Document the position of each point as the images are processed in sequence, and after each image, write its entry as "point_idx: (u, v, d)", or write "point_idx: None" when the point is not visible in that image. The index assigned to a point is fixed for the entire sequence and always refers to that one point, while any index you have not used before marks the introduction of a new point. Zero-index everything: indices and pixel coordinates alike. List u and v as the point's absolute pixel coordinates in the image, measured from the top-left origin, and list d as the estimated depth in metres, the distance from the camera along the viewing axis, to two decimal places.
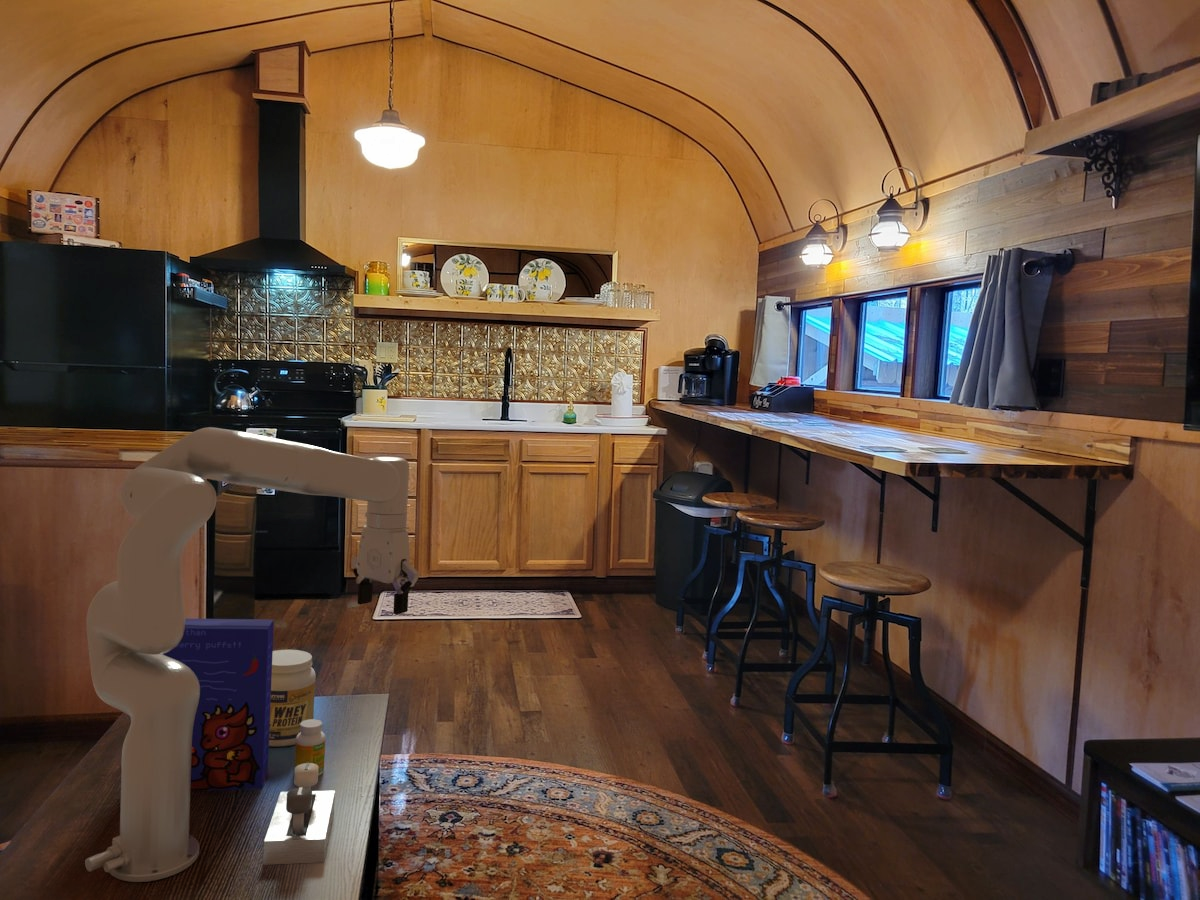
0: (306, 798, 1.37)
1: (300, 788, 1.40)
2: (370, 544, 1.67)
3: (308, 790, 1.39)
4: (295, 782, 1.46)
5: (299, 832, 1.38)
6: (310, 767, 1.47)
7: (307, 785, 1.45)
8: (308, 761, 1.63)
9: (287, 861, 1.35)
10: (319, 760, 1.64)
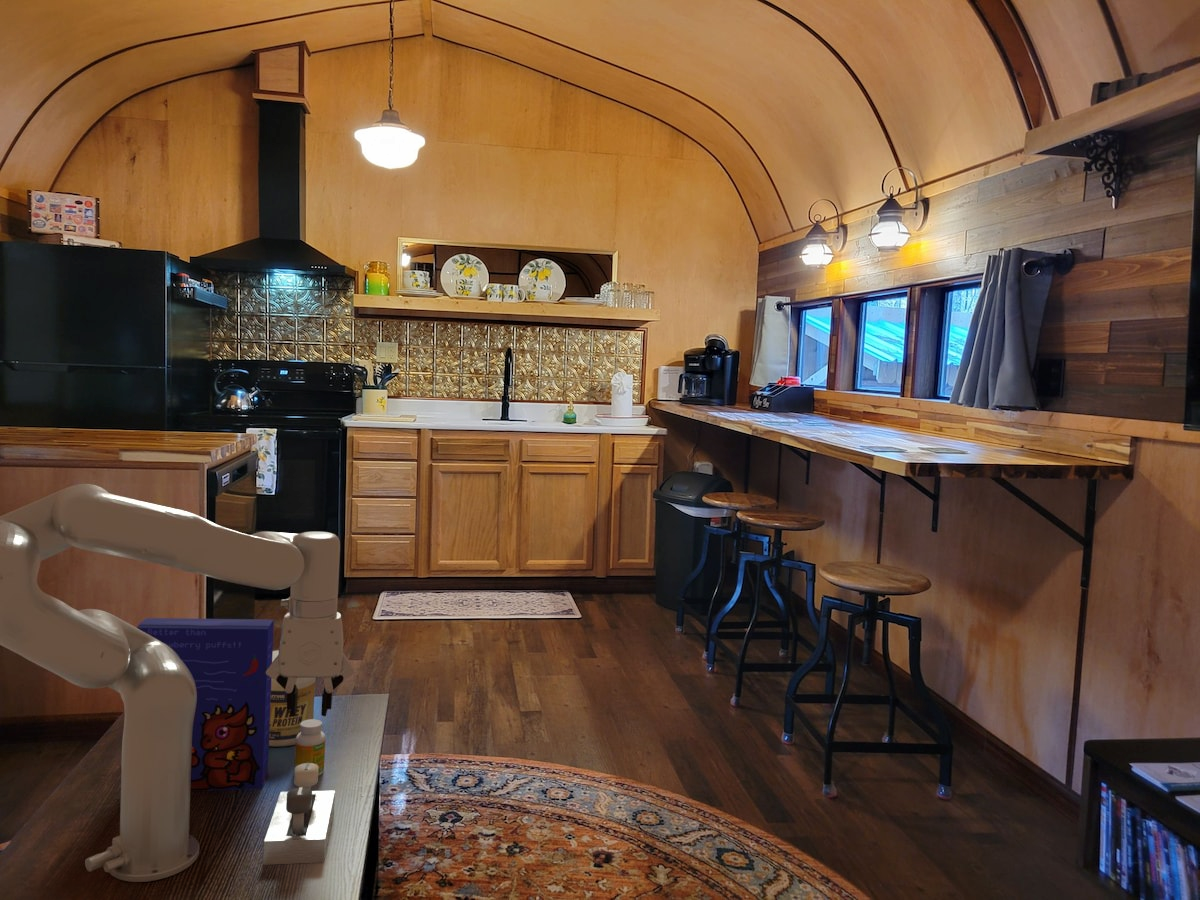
0: (306, 798, 1.37)
1: (300, 788, 1.40)
2: (302, 637, 1.42)
3: (308, 790, 1.39)
4: (295, 782, 1.46)
5: (299, 832, 1.38)
6: (310, 767, 1.47)
7: (307, 785, 1.45)
8: (308, 761, 1.63)
9: (287, 861, 1.35)
10: (319, 760, 1.64)
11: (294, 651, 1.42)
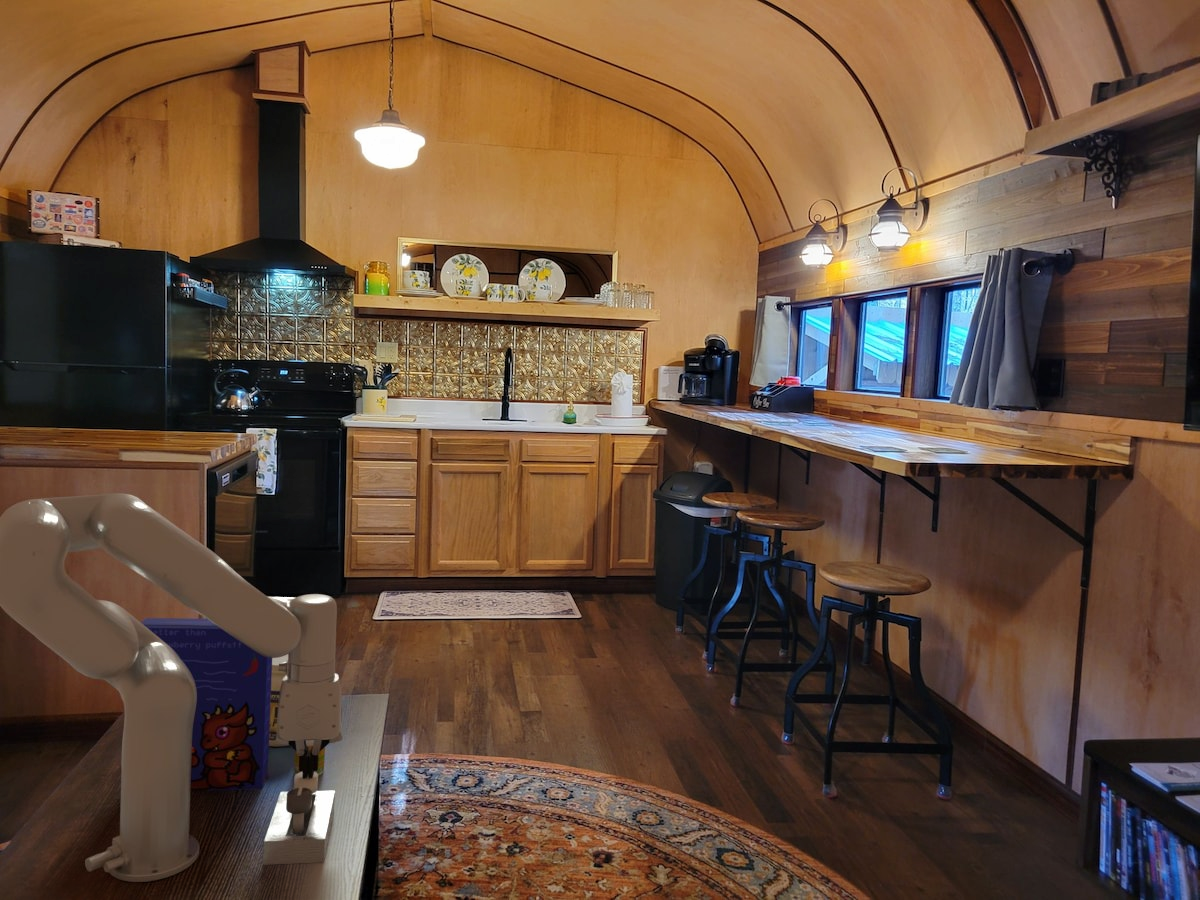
0: (306, 798, 1.37)
1: (300, 788, 1.40)
2: (300, 701, 1.43)
3: (308, 790, 1.39)
4: None
5: (299, 832, 1.38)
6: None
7: None
8: None
9: (287, 861, 1.35)
10: (319, 760, 1.64)
11: (292, 715, 1.43)
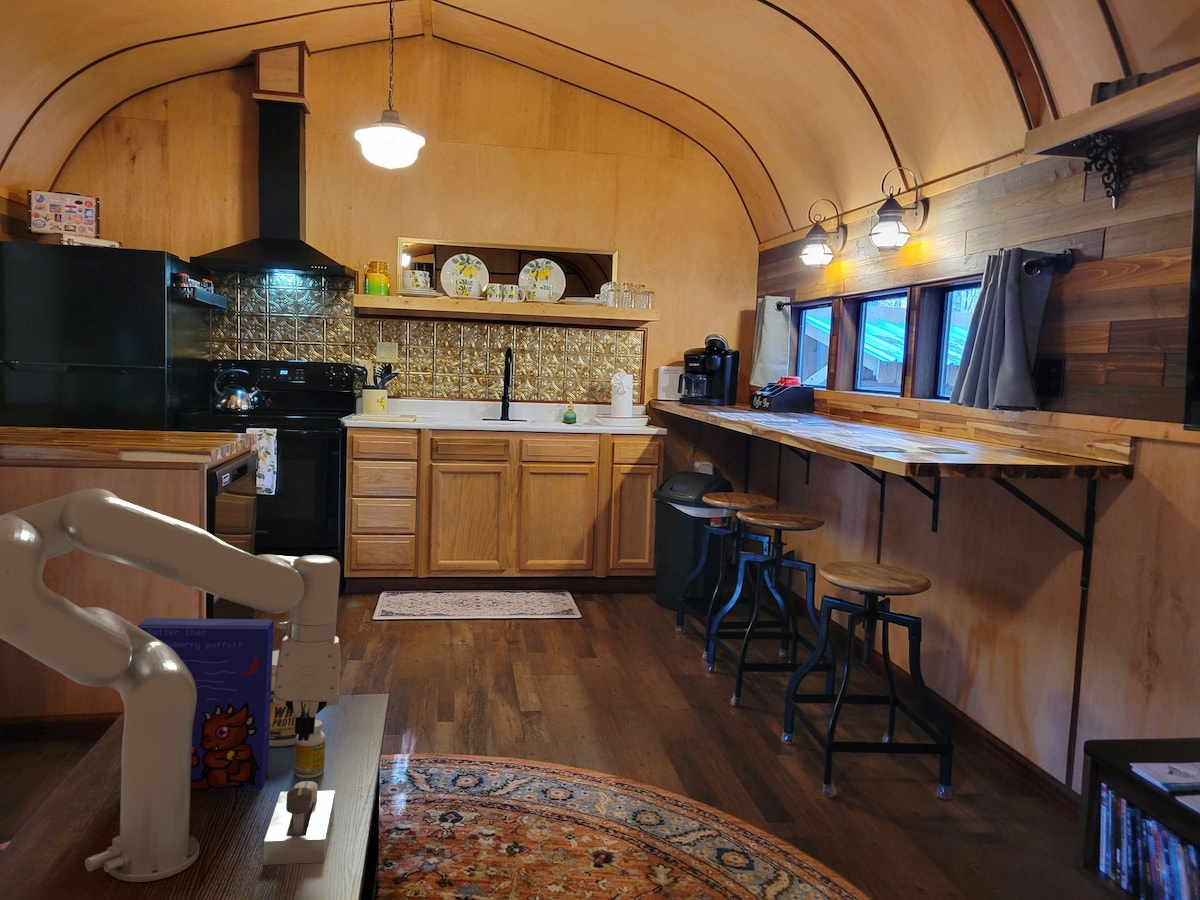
0: (306, 798, 1.37)
1: (300, 788, 1.40)
2: (300, 661, 1.42)
3: (308, 790, 1.39)
4: None
5: (299, 832, 1.38)
6: (309, 785, 1.48)
7: None
8: (308, 761, 1.63)
9: (287, 861, 1.35)
10: (319, 760, 1.64)
11: (291, 675, 1.42)
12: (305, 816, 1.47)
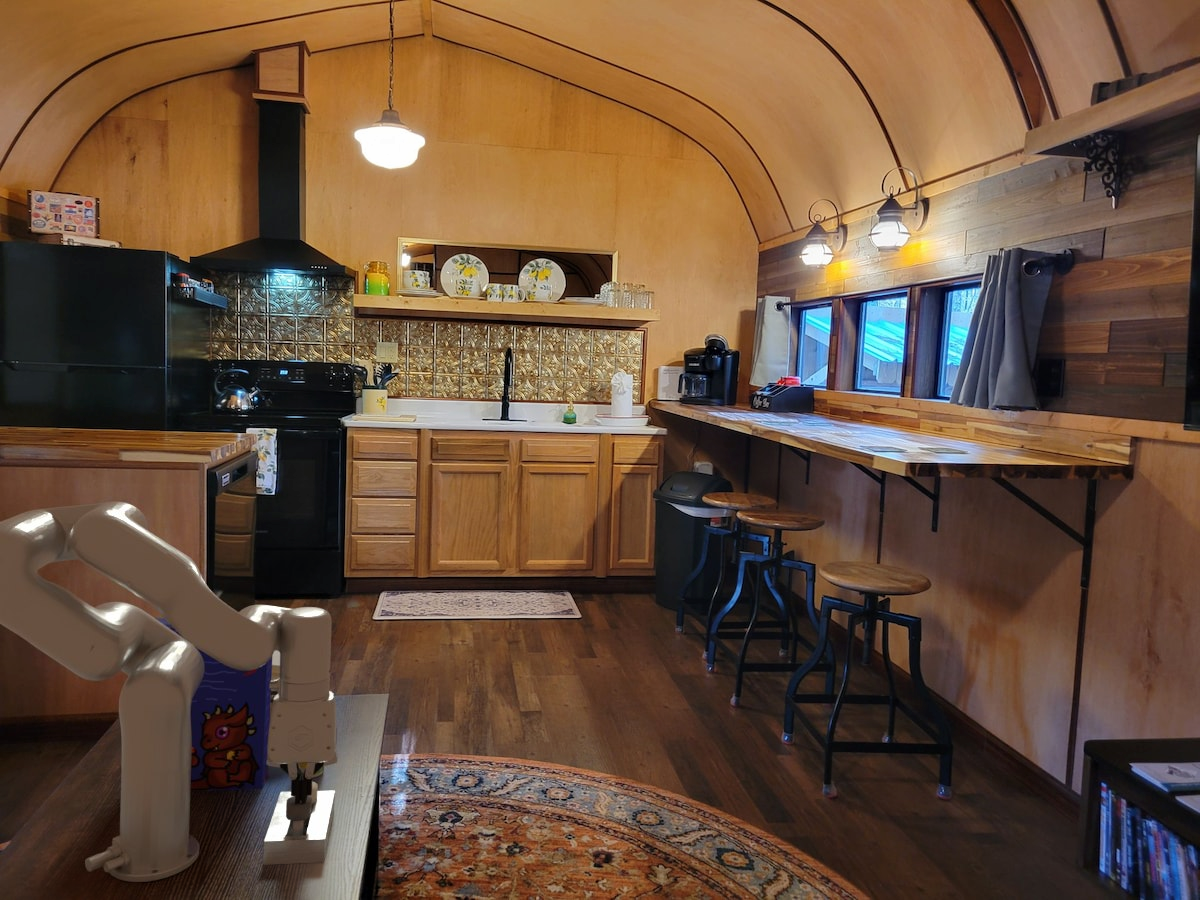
0: (305, 805, 1.37)
1: None
2: (293, 721, 1.34)
3: (308, 797, 1.40)
4: None
5: None
6: None
7: None
8: None
9: (287, 861, 1.35)
10: None
11: (284, 736, 1.34)
12: None
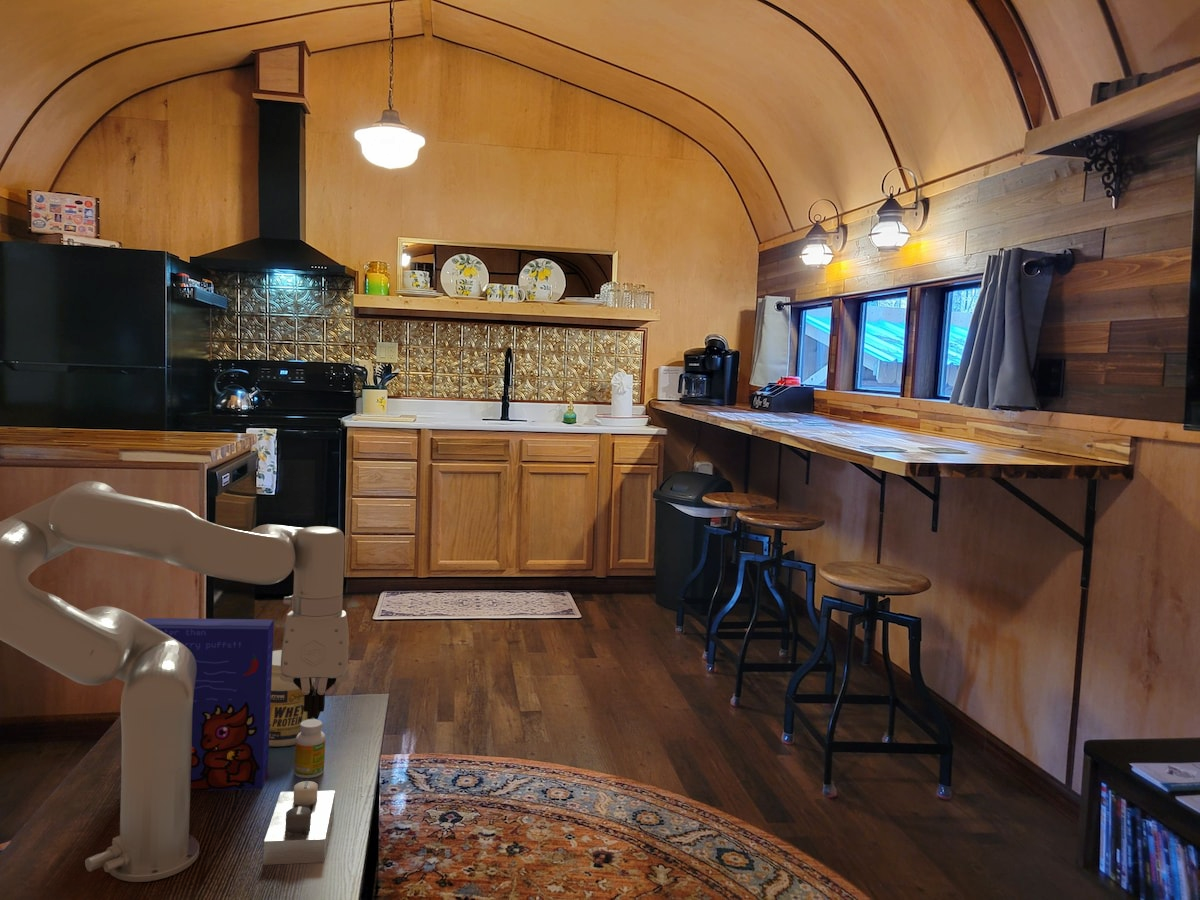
0: (305, 817, 1.37)
1: (299, 807, 1.40)
2: (306, 636, 1.37)
3: (307, 809, 1.40)
4: (294, 800, 1.46)
5: None
6: (309, 785, 1.48)
7: (306, 803, 1.46)
8: (308, 761, 1.63)
9: (287, 861, 1.35)
10: (319, 760, 1.64)
11: (297, 650, 1.37)
12: None
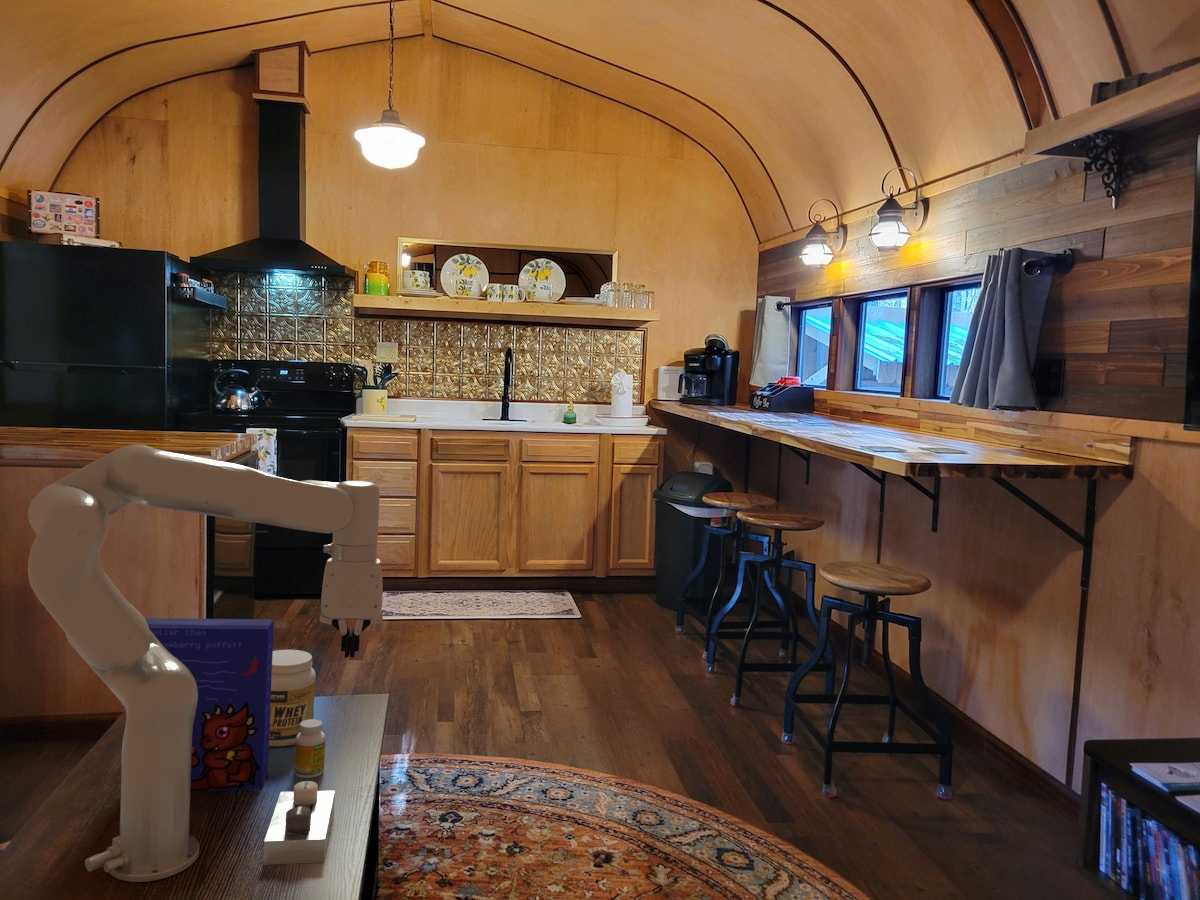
0: (305, 817, 1.37)
1: (299, 807, 1.40)
2: (344, 580, 1.49)
3: (307, 809, 1.40)
4: (294, 800, 1.46)
5: None
6: (309, 785, 1.48)
7: (306, 803, 1.46)
8: (308, 761, 1.63)
9: (287, 861, 1.35)
10: (319, 760, 1.64)
11: (336, 594, 1.49)
12: None
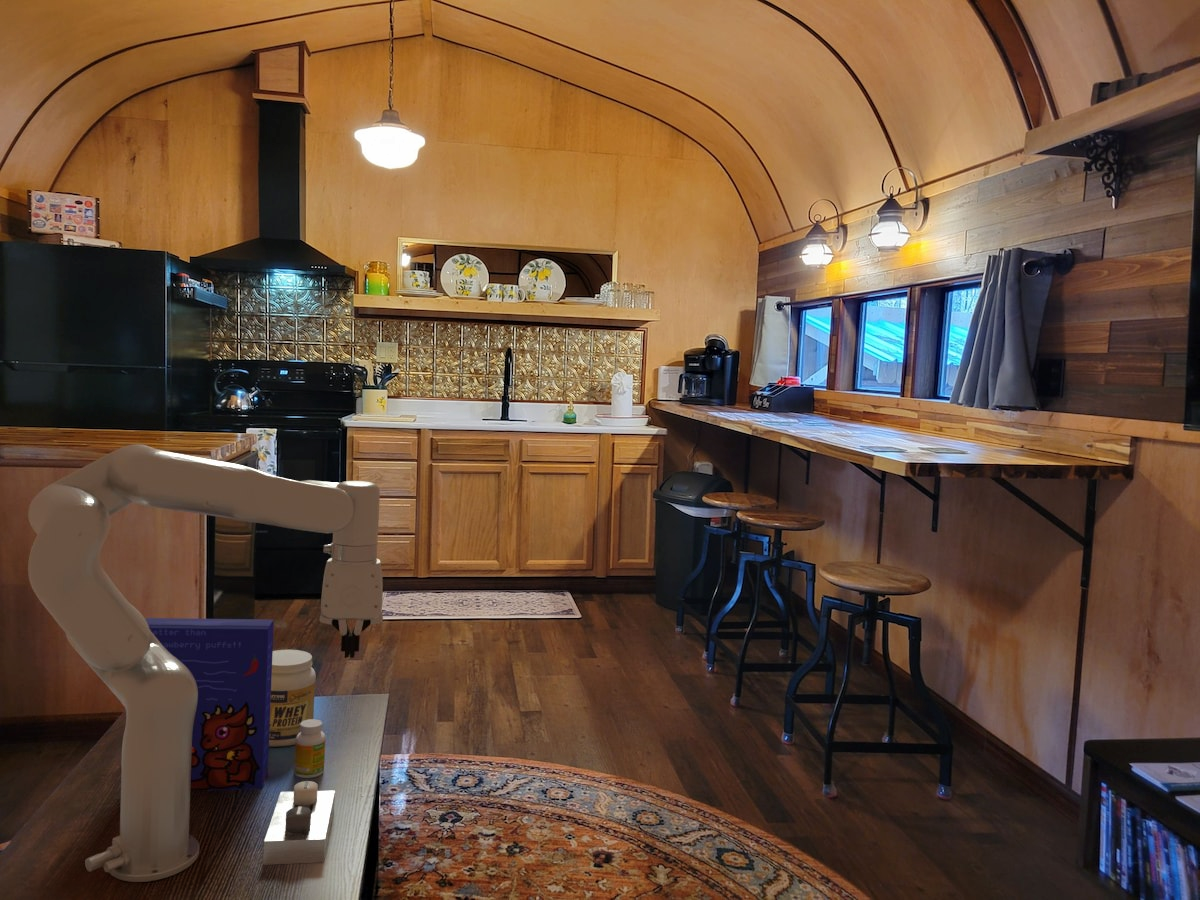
0: (305, 817, 1.37)
1: (299, 807, 1.40)
2: (344, 580, 1.49)
3: (307, 809, 1.40)
4: (294, 800, 1.46)
5: None
6: (309, 785, 1.48)
7: (306, 803, 1.46)
8: (308, 761, 1.63)
9: (287, 861, 1.35)
10: (319, 760, 1.64)
11: (337, 594, 1.49)
12: None
